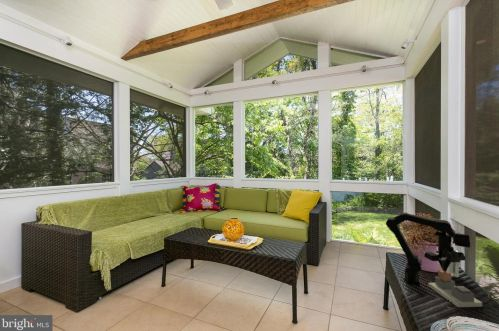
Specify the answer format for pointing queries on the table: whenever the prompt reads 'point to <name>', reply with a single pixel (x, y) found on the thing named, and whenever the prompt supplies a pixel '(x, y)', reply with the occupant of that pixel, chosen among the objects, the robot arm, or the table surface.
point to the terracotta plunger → (444, 276)
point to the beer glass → (454, 268)
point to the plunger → (462, 289)
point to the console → (454, 294)
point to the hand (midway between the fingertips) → (444, 271)
